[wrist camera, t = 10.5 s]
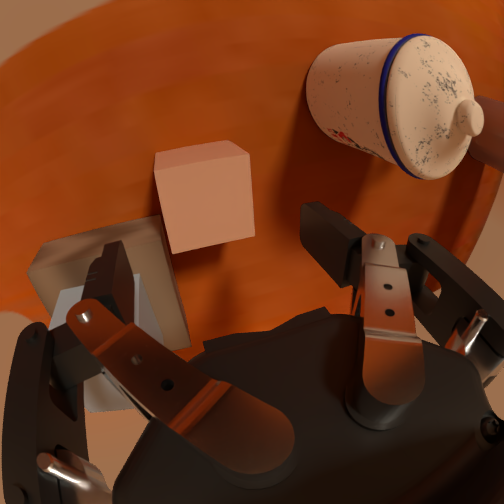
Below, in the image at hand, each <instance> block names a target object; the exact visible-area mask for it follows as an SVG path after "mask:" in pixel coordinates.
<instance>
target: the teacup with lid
mask: <svg viewBox="0 0 504 504" xmlns="http://www.w3.org/2000/svg"><path fill="white" fill-rule="evenodd" d="M306 97H307V103H308V106H309V110H310V112H311V115H312V117H313V119H314V120H315V122H316V124H317V125H318V126H319V128H320V129H321V130H322V131H323V132H324V133H325V134H326V135H328V136H329V137H330V138H332V139H334V140H335V141H337V142H340V143H343V144H346V145H348V146H351V147H354V148H356V149H359V150H362V151H364V152H367V153H369V154H372V155H374V156H377V157H379V158H382V159H384V160H386V161H389V162H391V163H393V164H396V165H398V166H399V167H400V168H401V169H402V170H403V171H405V172H406V173H407V174H409V175H410V176H412V177H415V178H418V179H428V180H432V179H438V178H441V177H444V176H445V175H447V174H449V173H450V172H451V171H453V170H454V169H455V168H456V167H457V165H458V164H459V163H460V162H461V160H462V159H463V157H464V155H465V153H466V151H467V149H468V147H469V144H470V141H471V138H472V137H475V136H477V135H479V134H480V133H481V131H482V128H483V124H484V115H483V110H482V108H481V106H480V105H479V104H478V103H477V102H476V101H475V100H474V93H473V88H472V84H471V81H470V78H469V75H468V73H467V70H466V68H465V66H464V64H463V63H462V61H461V59H460V58H459V57H458V55H457V54H456V53H455V52H454V51H453V50H452V49H451V48H450V47H449V46H448V45H447V44H445V43H444V42H442V41H441V40H439V39H437V38H434V37H432V36H429V35H426V34H411V35H408V36H405V37H403V38H391V39H378V40H367V41H359V42H351V43H344V44H338V45H334V46H332V47H329V48H328V49H326V50H324V51H323V52H322V53H321V54H320V55H318V57H317V58H316V59H315V61H314V62H313V64H312V66H311V68H310V70H309V73H308V76H307V82H306Z"/></svg>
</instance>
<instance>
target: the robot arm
mask: <svg viewBox="0 0 504 504" xmlns="http://www.w3.org/2000/svg"><path fill="white" fill-rule="evenodd" d="M474 100H475V101H476V102H477V103H478V104H479V105H480V106H481V108H482V110H483V115H484V124H483V128H482V131H481V133H480V134H479V135H477V136H475V137H472V138H471V141H470V144H469V147H468V151H469V153H470V155H471V156H472V157H473V158H474V159H476V160H478V161H480V162H482V163H485V164H487V165H489V166H491V167H493V168H495V169H497V170H499V171H501V172H503V173H504V103H503V102H500V101H497V100H494V99H490V98H487V97H483V96H477V97H475V99H474ZM300 240H301V243H302V245H303V247H304V248H305V249H306V250H307V251H308V252H309V253H310V255H311V256H312V257H313V258H314V259H315V260H316V261H317V262H318V263H319V264H320V266H321V267H322V268H323V269H324V270H325V271H326V272H327V273H328V274H329V276H330V277H331V278H332V279H333V280H334V281H335V282H336V283H337V284H338V286H339V287H340V288H343V287H346V286H349V285H352V286H353V288H352V293H351V303H350V314H349V315H347V314H330V313H329V312H328V310H327V309H326V308H325V307H322V308H319V309H316V310H313V311H309V312H306V313H303V314H300V315H297V316H296V317H294V318H292V319H290V320H289V321H287V322H285V323H283V324H282V325H280V326H278V327H276V328H274V329H272V330H270V331H262V332H249V333H235V334H231V335H227V336H223V337H219V338H215V339H211V340H207V341H203V345H204V348H205V351H204V352H202V353H200V354H198V355H197V356H195V357H194V358H192V359H191V360H190V361H188V362H186V361H185V360H183V359H182V358H180V357H179V356H177V355H176V354H175V353H173V352H172V351H170V350H169V349H168V348H166V347H165V346H163V345H162V344H161V343H159V342H158V341H157V340H155V339H154V338H153V337H151V336H150V335H149V334H147V333H146V332H145V331H143V330H142V329H141V328H140V327H138V326H137V325H136V324H134V297H135V281H134V276H133V272H132V269H131V266H130V263H129V260H128V257H127V254H126V251H125V248H124V245H123V242H122V241H121V240H119V241H115V242H111V243H107V244H105V245H104V248H103V252H102V255H101V257H98V258H95V260H94V261H93V262H92V263H91V265H90V266H89V270H88V273H87V274H88V275H87V277H86V282H85V284H84V288H83V292H82V297H81V301H79V302H77V303H76V304H74V305H73V306H72V307H71V308H70V309H69V311H68V313H67V315H66V323H64V324H62V325H60V326H58V327H56V328H54V329H52V330H48V328H47V327H46V325H45V324H44V323H42V322H35V323H32V324H30V325H28V326H27V327H26V328H25V329H24V330H23V331H22V332H21V333H20V335H19V337H18V340H17V344H16V348H15V352H14V357H13V361H12V365H11V370H10V376H9V381H8V387H7V393H6V401H5V408H4V419H3V431H2V480H3V492H4V499H5V502H6V504H504V420H501V419H500V418H499V417H497V415H496V414H495V413H494V412H493V410H492V408H491V406H490V404H489V402H488V399H487V397H486V394H485V391H484V388H485V387H486V386H488V385H489V384H490V382H491V381H492V380H493V379H494V378H495V377H496V376H497V374H499V372H500V371H501V370H502V369H503V368H504V300H503V299H502V298H501V297H500V296H499V295H498V294H497V293H496V292H495V291H494V290H493V289H491V288H490V287H489V286H488V285H487V284H486V283H485V282H484V281H483V280H482V279H481V278H479V277H478V276H477V275H476V274H475V273H474V272H473V271H472V270H470V269H469V268H468V267H467V266H466V265H465V264H463V263H462V262H461V261H460V260H459V259H457V258H456V257H455V256H454V255H453V254H451V253H450V252H449V251H448V250H446V249H445V248H444V247H443V246H441V245H440V244H439V243H437V242H436V241H435V240H434V239H432V238H431V237H429V236H427V235H424V234H419V233H414V234H411V235H410V236H409V238H408V242H407V245H395V244H394V242H393V241H392V240H391V239H390V238H388V237H386V236H384V235H380V234H366V233H365V232H363V231H362V230H361V229H359V228H358V227H357V226H355V225H354V224H352V223H351V222H350V221H349V220H346V218H345V217H343V216H342V215H341V214H339V213H337V212H334V211H332V210H330V209H328V208H327V207H325V206H324V205H323V204H321V203H320V202H318V201H317V202H311V203H305V204H302V206H301V213H300ZM429 273H430V274H431V275H433V276H434V277H435V278H436V279H437V280H438V281H439V282H440V284H441V294H440V296H439V299H438V297H437V296H435V295H434V293H433V292H432V291H431V290H430V289H429V288H428V287H426V286H425V282H426V279H427V277H428V274H429ZM414 316H415V317H416V318H417V319H418V320H419V321H420V323H421V324H422V325H423V326H424V327H425V328H426V330H427V331H428V332H429V333H430V334H431V335H432V337H433V338H434V339H435V340H436V342H437V343H438V344H439V345H440V346H438V345H435V344H433V343H430V342H427V341H424V340H421V339H420V338H419V337H417V335H416V328H415V321H414ZM100 373H101V374H102V375H103V376H104V377H105V378H106V379H107V380H108V381H109V383H110V384H111V385H112V386H113V387H114V388H115V389H116V390H117V391H118V392H119V393H120V394H121V395H122V396H123V397H124V398H125V399H126V400H127V401H128V402H129V403H130V404H131V405H132V406H133V407H134V408H135V409H136V410H137V411H138V413H139V414H140V415H142V416H143V417H144V418H145V419H146V420H147V421H148V422H149V423H148V424H147V426H146V428H145V430H144V431H143V433H142V435H141V437H140V438H139V440H138V442H137V443H136V445H135V447H134V449H133V451H132V452H131V454H130V456H129V457H128V459H127V461H126V463H125V465H124V466H123V468H122V470H121V471H120V473H119V475H118V477H117V478H116V481H115V483H114V486H113V490H112V491H111V490H110V489H109V488H108V486H107V484H106V482H105V479H104V476H103V474H102V473H101V471H100V470H99V469H98V468H97V467H96V466H95V465H93V464H92V463H90V462H89V457H88V449H87V439H86V429H85V412H84V381H85V380H88V379H90V378H92V377H94V376H96V375H98V374H100Z"/></svg>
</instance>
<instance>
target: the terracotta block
mask: <svg viewBox="0 0 504 504" xmlns="http://www.w3.org/2000/svg"><path fill="white" fill-rule="evenodd" d="M154 174H155V179H156V184H157V189H158V194H159V199H160V204H161V208H162V213H163V217H164V221H165V226H166V230H167V234H168V238H169V242H170V246H171V250H172V254H176V253H180V252H184V251H189V250H193V249H198V248H202V247H207V246H211V245H216V244H220V243H225V242H229V241H234V240H238V239H243V238H247V237H252V236H255V228H254V213H253V199H252V184H251V170H250V156H249V153H247V152H246V151H244V150H243V149H241V148H240V147H238V146H236V145H235V144H233V143H232V142H230V141H229V140H225V141H219V142H212V143H206V144H200V145H194V146H188V147H183V148H178V149H173V150H168V151H163V152H158V153H156V155H155V165H154Z"/></svg>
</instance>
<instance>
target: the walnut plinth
mask: <svg viewBox="0 0 504 504" xmlns="http://www.w3.org/2000/svg"><path fill="white" fill-rule="evenodd" d="M119 240H121V241H122V242H123V245H124V248H125V251H126V254H127V257H128V260H129V263H130V266H131V269H132V272H133V275H134V274H139V273H140V276H141V279H142V282H143V285H144V288H145V290H146V293H147V296H148V299H149V301H150V304H151V307H152V309H153V312H154V315H155V317H156V320H157V322H158V325H159V327H160V330H161V332H162V335H163V342H164V346H165V347H166V348H168V349H169V350H170V351H174V350H179V349H183V348H188V347H192V345H191V340H190V336H189V331H188V325H187V320H186V315H185V311H184V308H183V304H182V301H181V297H180V294H179V290H178V286H177V283H176V279H175V275H174V271H173V267H172V263H171V259H170V255H169V251H168V247H167V243H166V239H165V234H164V230H163V225H162V221H161V216H160V214H159V215H154V216H150V217H145V218H141V219H136V220H132V221H128V222H123V223H119V224H115V225H111V226H107V227H103V228H99V229H95V230H91V231H87V232H83V233H79V234H75V235H72V236H68V237H64V238H61V239H57V240H54V241H50V242H47V243H43V245H42V247H41V248H40V250H39V251H38V253H37V255H36V257H35V258H34V260H33V262H32V264H31V265H30V267H29V269H28V271H27V275H28V277H29V279H30V281H31V283H32V285H33V287H34V289H35V290H36V292H37V294H38V296H39V298H40V299H41V301H42V303H43V305H44V306H45V308H46V310H47V311H48V313H49V315H50V316H51V318H52V316H53V312H54V309H55V306H56V303H57V300H58V297H59V294H60V291H61V290H64V289H69V288H74V287H78V286H83V285H84V284H85V282H86V277H87V275H88V274H87V273H88V270H89V266H90V265H91V263H92V262H93V261H94V260H95V258H98V257H101V255H102V252H103V248H104V245H105V244H107V243H111V242H115V241H119Z"/></svg>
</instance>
